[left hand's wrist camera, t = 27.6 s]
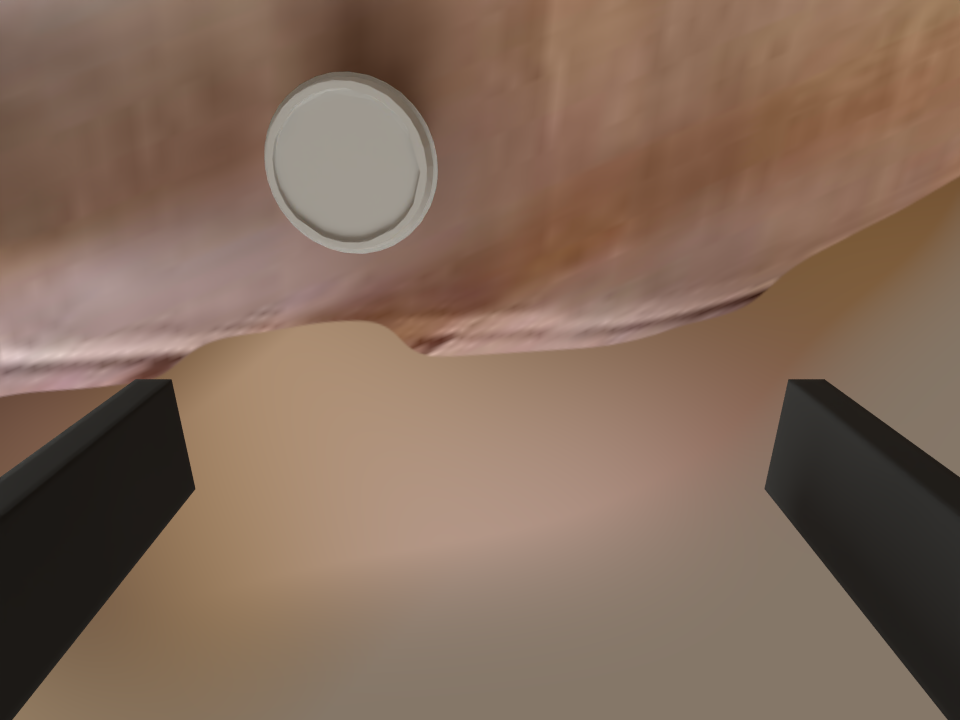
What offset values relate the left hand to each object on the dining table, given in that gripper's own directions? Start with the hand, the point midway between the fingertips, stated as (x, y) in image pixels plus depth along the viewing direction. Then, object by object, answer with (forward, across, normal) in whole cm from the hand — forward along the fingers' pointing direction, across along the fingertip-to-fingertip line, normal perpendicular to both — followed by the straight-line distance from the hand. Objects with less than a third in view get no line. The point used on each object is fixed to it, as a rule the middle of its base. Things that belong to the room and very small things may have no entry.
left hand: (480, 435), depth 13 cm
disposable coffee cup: (+33, +7, -4) cm, 34 cm away
